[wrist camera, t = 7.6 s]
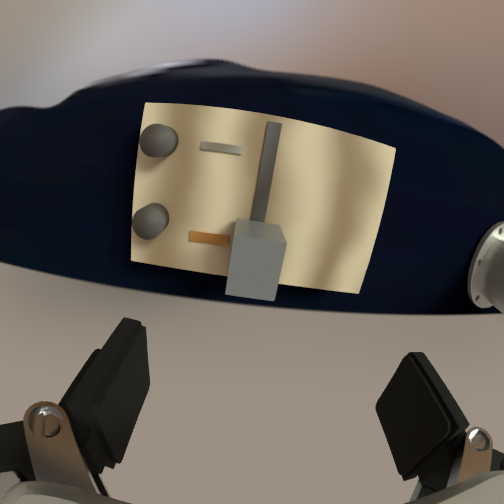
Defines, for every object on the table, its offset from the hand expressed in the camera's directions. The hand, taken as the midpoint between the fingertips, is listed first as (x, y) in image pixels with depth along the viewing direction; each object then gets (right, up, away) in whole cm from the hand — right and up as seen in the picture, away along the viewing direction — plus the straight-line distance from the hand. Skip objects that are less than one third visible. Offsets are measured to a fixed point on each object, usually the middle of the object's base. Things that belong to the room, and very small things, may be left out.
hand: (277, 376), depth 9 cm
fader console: (0, +9, +16) cm, 18 cm away
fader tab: (-1, +5, +13) cm, 13 cm away
